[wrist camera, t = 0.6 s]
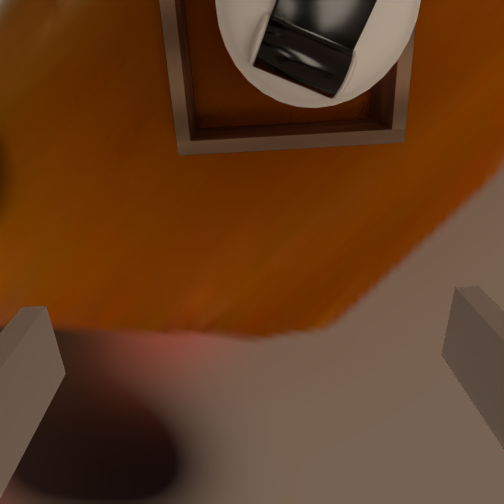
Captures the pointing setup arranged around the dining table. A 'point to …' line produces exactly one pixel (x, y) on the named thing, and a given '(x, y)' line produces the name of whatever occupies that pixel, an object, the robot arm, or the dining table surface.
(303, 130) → the square wooden frame
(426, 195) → the dining table surface
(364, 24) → the shaker bottle
